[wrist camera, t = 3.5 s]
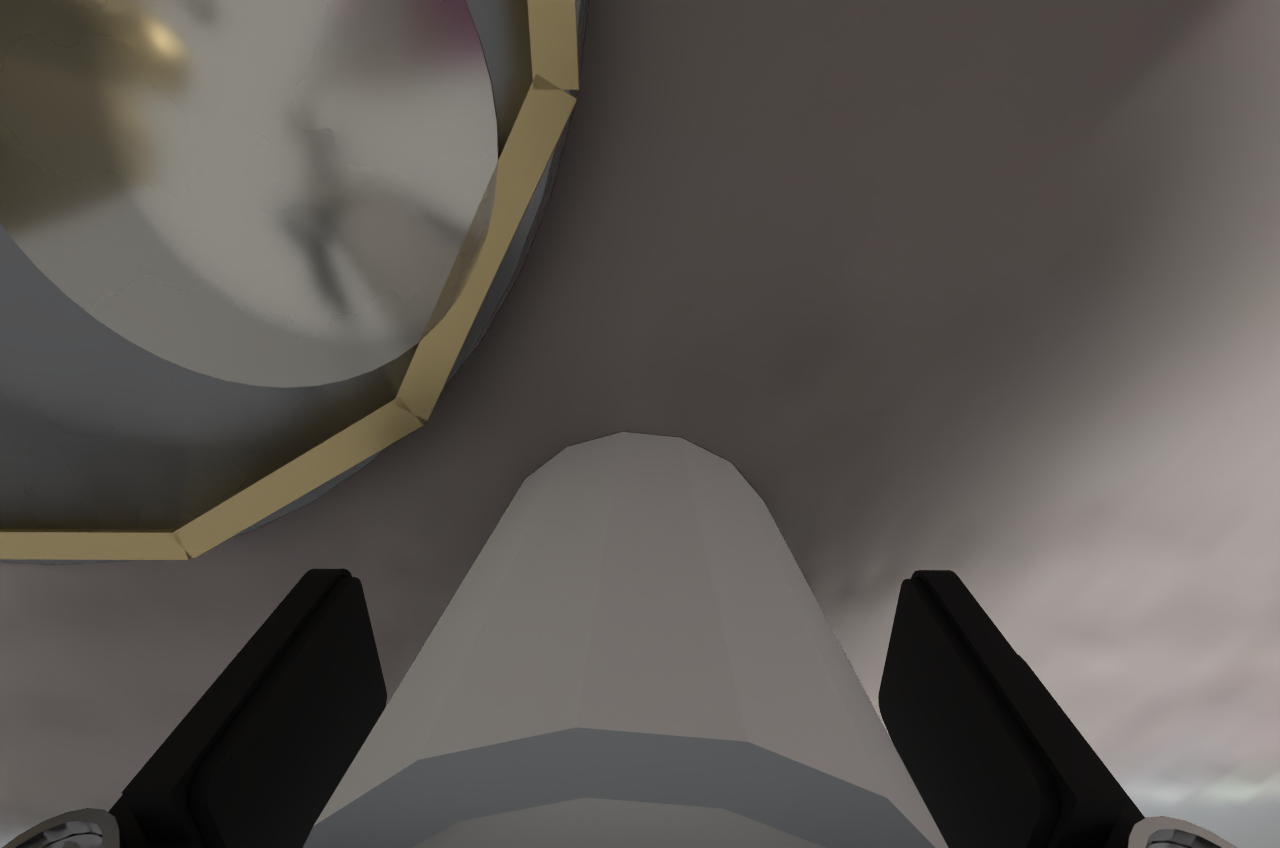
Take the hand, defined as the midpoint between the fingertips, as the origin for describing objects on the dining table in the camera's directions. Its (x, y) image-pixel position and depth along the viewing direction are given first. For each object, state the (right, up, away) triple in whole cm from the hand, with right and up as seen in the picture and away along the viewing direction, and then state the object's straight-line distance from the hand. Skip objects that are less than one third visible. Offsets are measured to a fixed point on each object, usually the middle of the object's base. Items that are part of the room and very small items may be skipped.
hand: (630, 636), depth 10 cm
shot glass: (0, +1, +2) cm, 2 cm away
